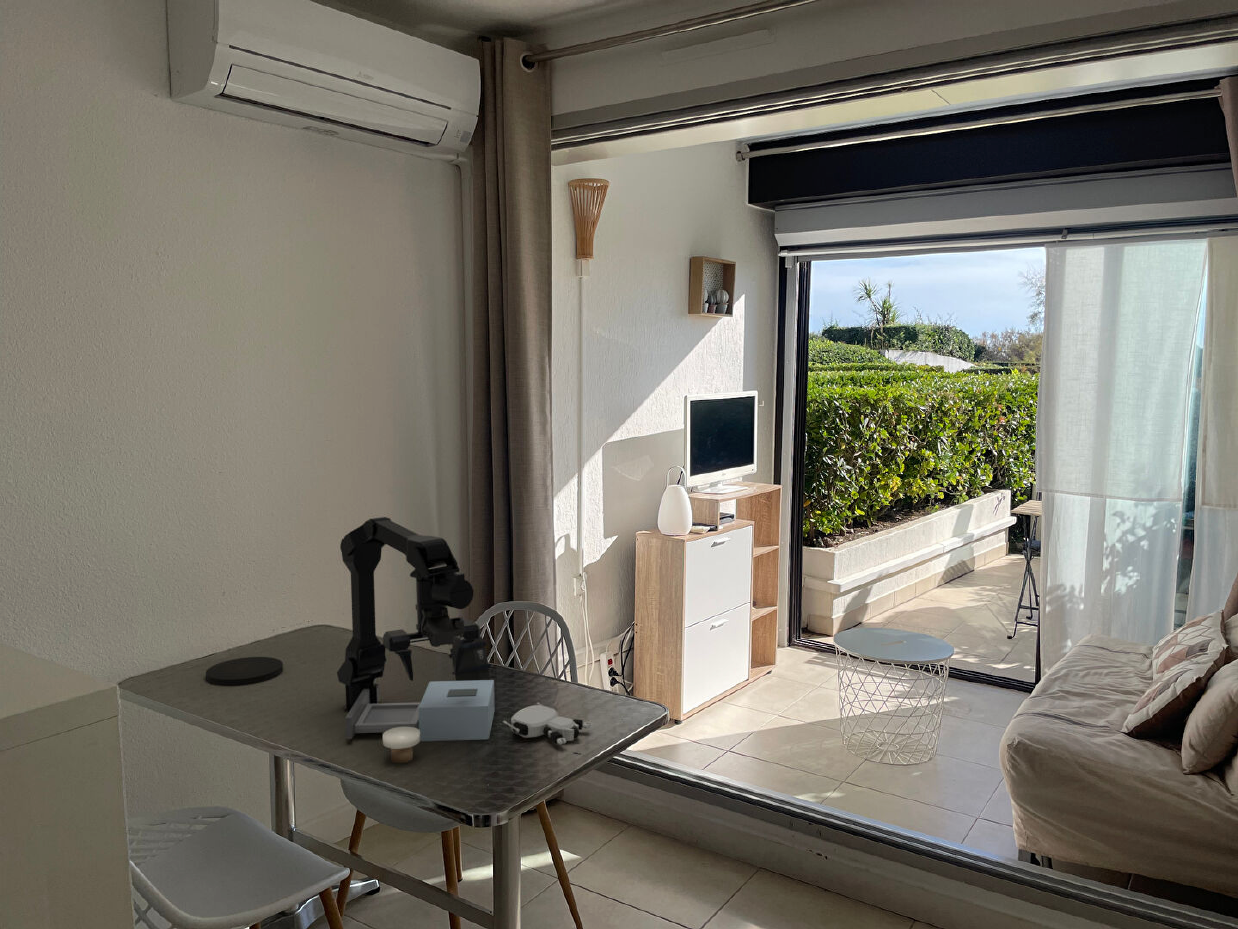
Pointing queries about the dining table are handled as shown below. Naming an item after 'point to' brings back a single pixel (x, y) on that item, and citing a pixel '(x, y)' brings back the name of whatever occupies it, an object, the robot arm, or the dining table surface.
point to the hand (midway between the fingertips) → (433, 676)
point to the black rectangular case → (473, 663)
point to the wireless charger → (244, 671)
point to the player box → (457, 710)
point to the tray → (379, 716)
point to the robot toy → (545, 724)
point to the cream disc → (401, 737)
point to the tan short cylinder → (401, 755)
